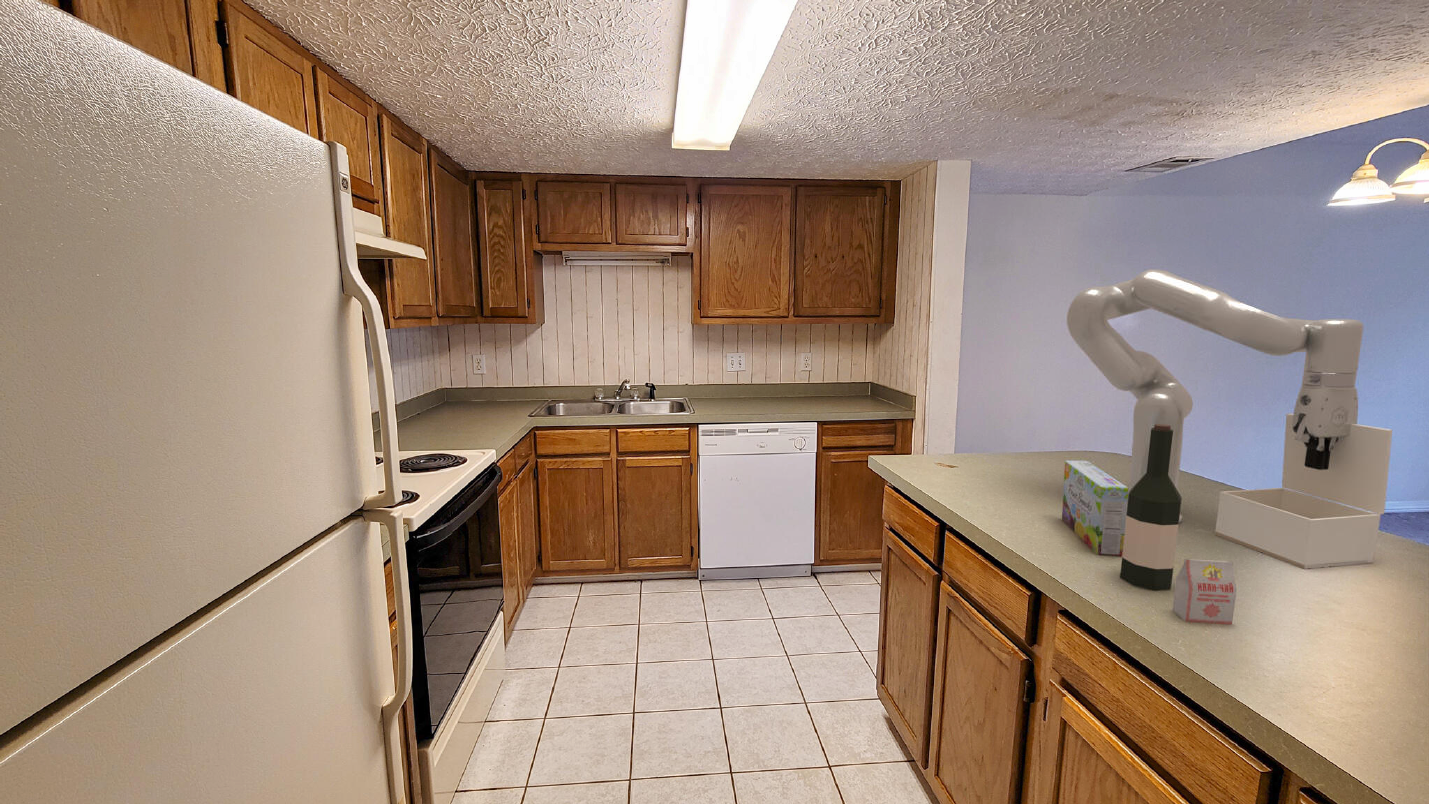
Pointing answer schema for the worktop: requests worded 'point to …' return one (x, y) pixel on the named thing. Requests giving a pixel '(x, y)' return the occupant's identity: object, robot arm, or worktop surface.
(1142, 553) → the wine bottle
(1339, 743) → the worktop surface
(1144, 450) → the robot arm
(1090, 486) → the snack box
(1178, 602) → the white and red packet
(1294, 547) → the carton
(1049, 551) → the worktop surface
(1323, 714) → the worktop surface
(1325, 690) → the worktop surface
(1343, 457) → the carton lid
